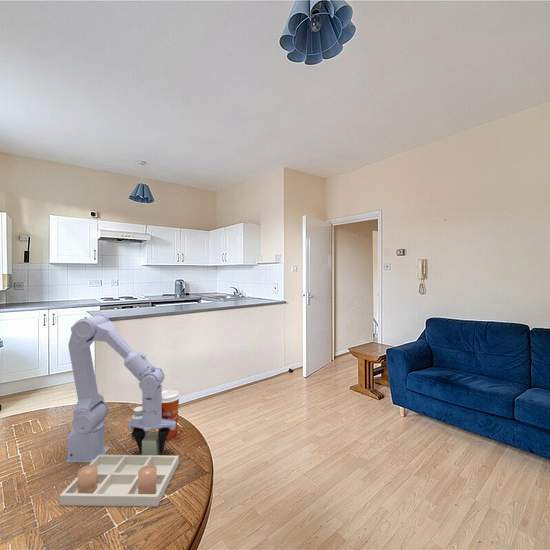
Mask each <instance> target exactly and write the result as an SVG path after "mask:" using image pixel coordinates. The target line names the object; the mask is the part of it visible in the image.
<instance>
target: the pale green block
mask: <svg viewBox="0 0 550 550" xmlns="http://www.w3.org/2000/svg"><path fill="white" fill-rule="evenodd" d="M141 455H160V453H159V437H158V432H148V434H147V435H146V436H145V437H144V439H143V440H142V453H141Z"/></svg>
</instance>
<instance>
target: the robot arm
mask: <svg viewBox="0 0 550 550" xmlns="http://www.w3.org/2000/svg"><path fill="white" fill-rule="evenodd" d="M70 331H71V334H70V338H69V341H68V345H67V346H68V352H69V357H70V363H71V364H70V365H71V368H72V374H73V379H74V384H75V391H76V396H77V402H76V404H75V407H74V408H73V411H72V412H73V418H72V421H71V424H72V429H71V431H70V432H69V435H68V436H67V447H66V448H67V459H66V460H65V462H66V463H67V462H68V463H91V462H92V461H93V460H94V459H95V458H96V457H97V456H98V455H105V454H106V452H107V451H108V450H109V449H110V448H111V446H107V445H105V418H106V417H107V416H108V414H109V406H108V404H107V403H106V401H105V399H104V396H103V395H102V394H100V393H99V391H98V386H97V380H96V379H97V378H96V374H95V369H94V368H95V367H94V363H93V358H92V357H93V356H92V352H91V345H92V344H93V343H94V342H105V343H107V344H108V345H109V346H110V347H111V348H112V349H113V350H114V351H115V352H116V353H117V354H118V355H119V356H120V357H121V358H122V359H124V362H123V363H124V364H123V365H124V367H125V368H126V369H127V370H128V371H129V372H130V373H131V374H132V375H133V376H134V377H135V378H136V380H138V381H139V383H138V387H139V389H140V390H141V392H142V395H141V397H142V399H141V401H142V402H141V403H142V404H141V406H142V419H141V420H132V419H131V420H130V421H129V422H128V423H127V430H128V431H129V430H132V428H134V430H133V432H132V431H131V437H132V436H133V437H132V438H133V439H134V440H135V442H136V445H137V448H138V451H139V453H141V454H142V440H143V439H144V437H145V431H148V432H150V431H151V430H158V429H161V430H160V432H159V433H158V432H157V433H158V437H159V454H162V453H163V451H164V450H165V445H166V441H167V440H166V438H167V436H168V433H169V431H170V429H171V430H174V429H175V427H176V421H170V420H166V419H162V391H163V390H162V387H163V386H162V383H163V382H164V380H165V373H164V371H163V370H162V368H160V367H156V365H153V364H152V363H151V362H150V361H149V360H148V359H147V358H146V357H147V355H146V354H145V353H144V352H143V353H142V352H141V351H135V350H133V348H132V347H131V346H130V344H129V343H128V342H127V341H126V340H125V339H124V337H123V336H122V335H121V334H120V333H119V331H118V330H117V328H116V327H115V324H114V322H113V321H111V320H110V319H109V318H108V316H107V315H105V314H100V313H99V314H95V315H94V316H90V317H86V318H84V317H83V318H80V319H78V320H77V321H76V322H75V323H74V324H73V325H72V326H71V327H70Z"/></svg>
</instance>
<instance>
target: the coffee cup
mask: <svg viewBox="0 0 550 550" xmlns="http://www.w3.org/2000/svg"><path fill="white" fill-rule="evenodd" d="M180 397H181V395H180V393H179V391H178V390H177V389H176V390H175V389H166V390H162V419H166V420H170V421H176V427H175V429H174V430H171V429H170V431H169V433H168V436H167V438H166V441H170V440H172V439H174V438H175V437H176V436H177V433H178V421H179V420H178V417H179V403H180ZM160 430H161V429H157V431H158V432H157V433H159V432H160Z"/></svg>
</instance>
